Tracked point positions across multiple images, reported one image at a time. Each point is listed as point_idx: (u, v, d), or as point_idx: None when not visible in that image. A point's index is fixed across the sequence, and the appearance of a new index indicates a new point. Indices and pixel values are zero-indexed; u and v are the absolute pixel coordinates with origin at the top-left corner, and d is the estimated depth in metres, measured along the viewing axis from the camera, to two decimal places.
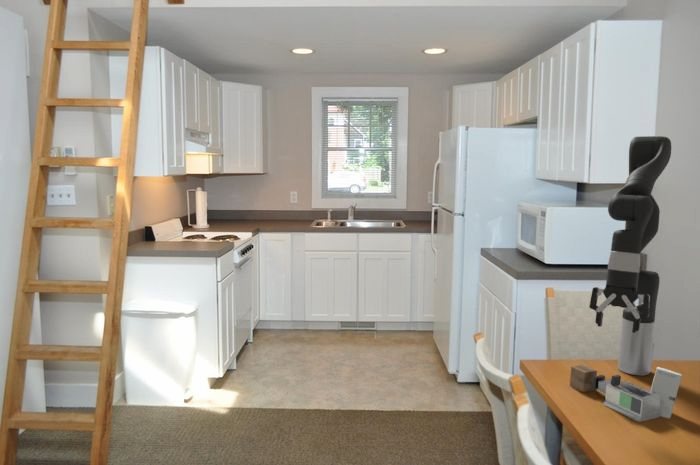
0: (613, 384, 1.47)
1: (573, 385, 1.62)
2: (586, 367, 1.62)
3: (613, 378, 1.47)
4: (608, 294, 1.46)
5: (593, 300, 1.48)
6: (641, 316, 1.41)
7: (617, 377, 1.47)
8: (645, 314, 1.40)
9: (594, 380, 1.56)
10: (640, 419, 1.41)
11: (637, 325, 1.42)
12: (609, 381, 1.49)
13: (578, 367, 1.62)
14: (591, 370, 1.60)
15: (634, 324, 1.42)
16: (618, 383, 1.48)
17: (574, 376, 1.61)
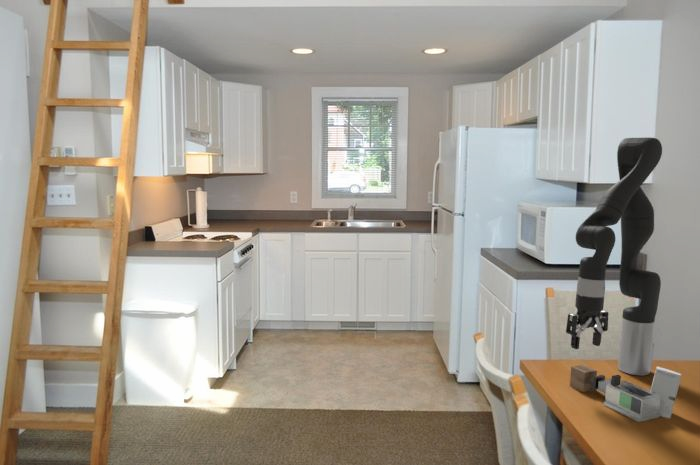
0: (613, 384, 1.47)
1: (573, 385, 1.62)
2: (586, 367, 1.62)
3: (613, 378, 1.47)
4: (584, 318, 1.57)
5: (575, 327, 1.56)
6: None
7: (617, 377, 1.47)
8: (606, 328, 1.61)
9: (594, 380, 1.56)
10: (640, 419, 1.41)
11: None
12: (609, 381, 1.49)
13: (578, 367, 1.62)
14: (591, 370, 1.60)
15: (599, 339, 1.61)
16: (618, 383, 1.48)
17: (574, 376, 1.61)
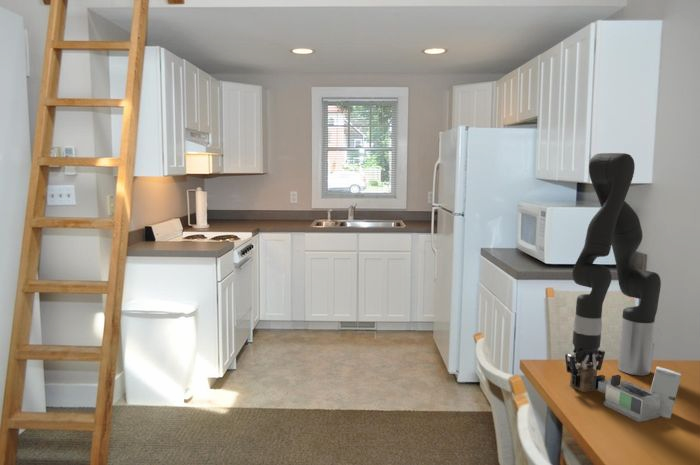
0: (613, 384, 1.47)
1: None
2: (586, 367, 1.62)
3: (613, 378, 1.47)
4: (581, 357, 1.59)
5: (574, 367, 1.58)
6: (595, 369, 1.62)
7: (617, 377, 1.47)
8: (599, 367, 1.62)
9: (594, 380, 1.56)
10: (640, 419, 1.41)
11: None
12: (609, 381, 1.49)
13: None
14: (591, 370, 1.60)
15: None
16: (618, 383, 1.48)
17: None
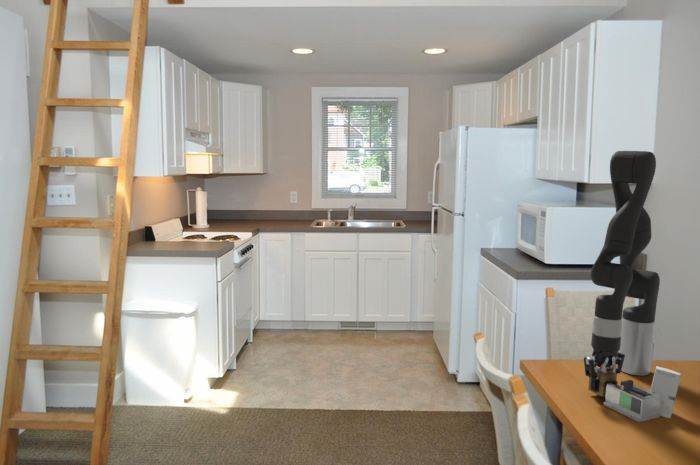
0: (625, 389, 1.44)
1: None
2: (605, 370, 1.56)
3: (625, 383, 1.44)
4: (600, 360, 1.52)
5: (593, 370, 1.52)
6: None
7: (629, 382, 1.44)
8: (619, 371, 1.56)
9: (606, 385, 1.52)
10: (640, 419, 1.41)
11: None
12: (622, 387, 1.45)
13: None
14: (611, 373, 1.54)
15: None
16: (630, 388, 1.44)
17: None
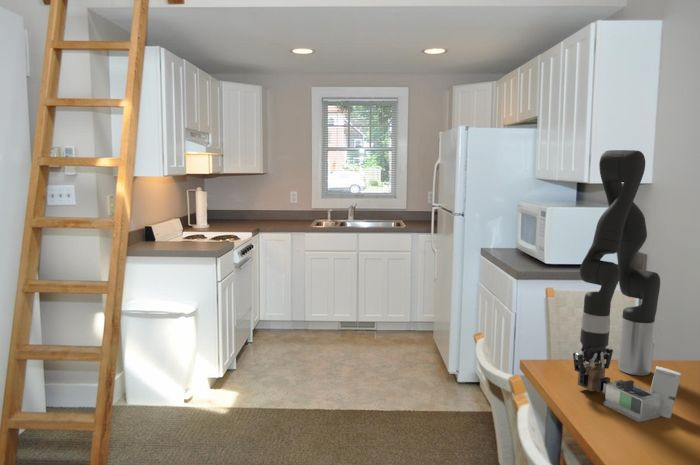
0: (626, 390, 1.44)
1: None
2: (594, 365, 1.60)
3: (626, 384, 1.43)
4: (589, 355, 1.56)
5: (582, 366, 1.55)
6: None
7: (630, 383, 1.44)
8: (607, 366, 1.60)
9: (599, 382, 1.54)
10: (640, 419, 1.41)
11: None
12: (614, 383, 1.47)
13: None
14: (599, 368, 1.57)
15: None
16: (631, 389, 1.44)
17: None
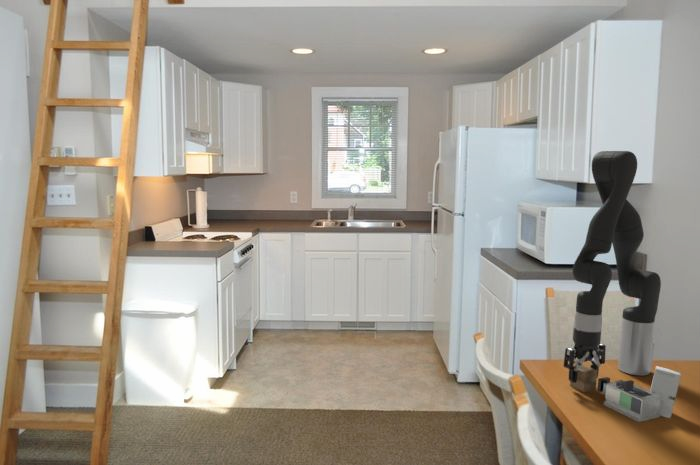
0: (626, 390, 1.44)
1: (573, 385, 1.62)
2: (586, 367, 1.62)
3: (626, 384, 1.43)
4: (581, 353, 1.58)
5: (572, 362, 1.57)
6: (599, 363, 1.63)
7: (630, 383, 1.44)
8: (603, 361, 1.63)
9: (599, 382, 1.54)
10: (640, 419, 1.41)
11: (597, 371, 1.63)
12: (614, 383, 1.47)
13: None
14: (591, 370, 1.60)
15: (597, 372, 1.62)
16: (631, 389, 1.44)
17: None
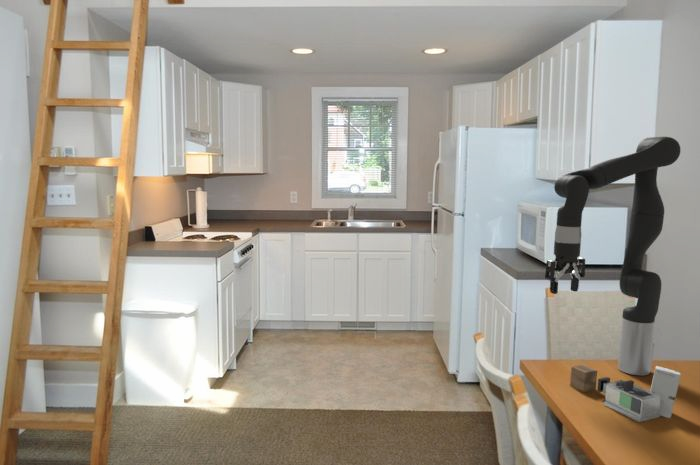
0: (626, 390, 1.44)
1: (573, 385, 1.62)
2: (586, 367, 1.62)
3: (626, 384, 1.43)
4: (562, 264, 1.65)
5: (553, 272, 1.64)
6: (579, 276, 1.70)
7: (630, 383, 1.44)
8: (583, 274, 1.69)
9: (599, 382, 1.54)
10: (640, 419, 1.41)
11: (577, 284, 1.70)
12: (614, 383, 1.47)
13: (578, 367, 1.62)
14: (591, 370, 1.60)
15: (577, 284, 1.69)
16: (631, 389, 1.44)
17: (574, 376, 1.62)
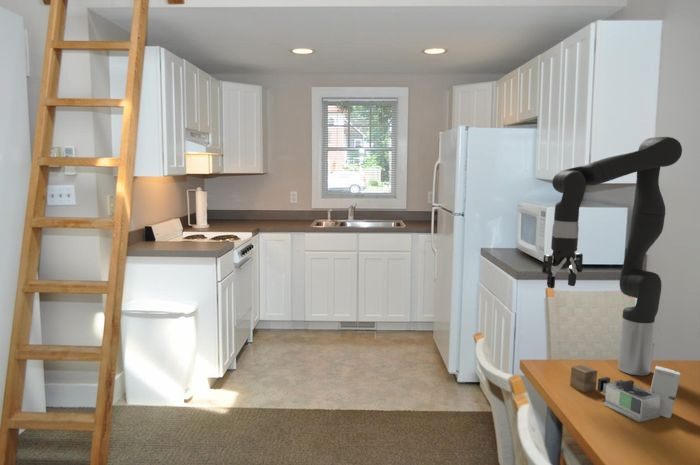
0: (626, 390, 1.44)
1: (573, 385, 1.62)
2: (586, 367, 1.62)
3: (626, 384, 1.43)
4: (559, 259, 1.67)
5: (550, 267, 1.65)
6: None
7: (630, 383, 1.44)
8: (581, 269, 1.71)
9: (599, 382, 1.54)
10: (640, 419, 1.41)
11: (575, 279, 1.71)
12: (614, 383, 1.47)
13: (578, 367, 1.62)
14: (591, 370, 1.60)
15: (574, 279, 1.70)
16: (631, 389, 1.44)
17: (574, 376, 1.62)
